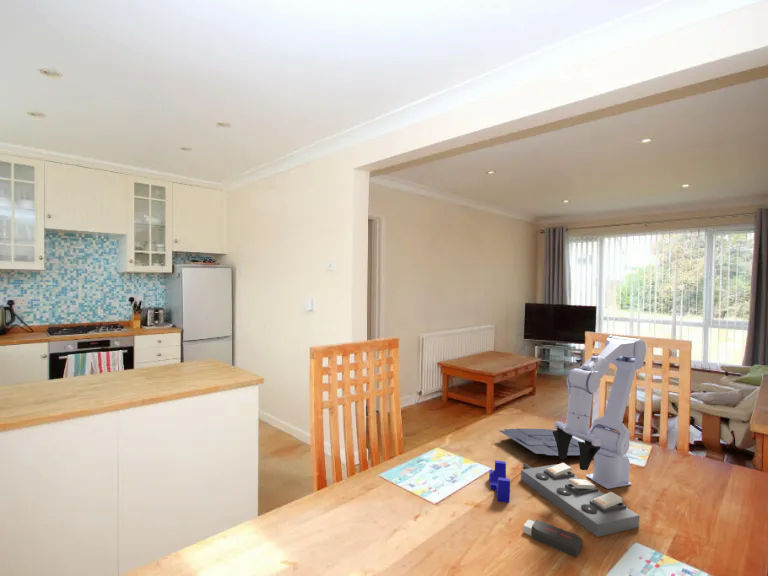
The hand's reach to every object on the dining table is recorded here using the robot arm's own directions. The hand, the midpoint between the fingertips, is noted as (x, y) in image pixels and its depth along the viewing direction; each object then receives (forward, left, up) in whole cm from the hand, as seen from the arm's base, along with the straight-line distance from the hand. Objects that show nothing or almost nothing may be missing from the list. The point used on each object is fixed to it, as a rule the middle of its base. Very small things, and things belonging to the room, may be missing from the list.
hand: (572, 463), depth 111 cm
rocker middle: (-3, 0, -6) cm, 7 cm away
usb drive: (+17, +12, -11) cm, 24 cm away
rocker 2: (-3, +9, -6) cm, 11 cm away
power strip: (-1, -3, -10) cm, 11 cm away
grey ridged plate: (-19, -31, -11) cm, 38 cm away
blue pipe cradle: (+16, -10, -11) cm, 22 cm away
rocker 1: (-3, -8, -6) cm, 10 cm away
